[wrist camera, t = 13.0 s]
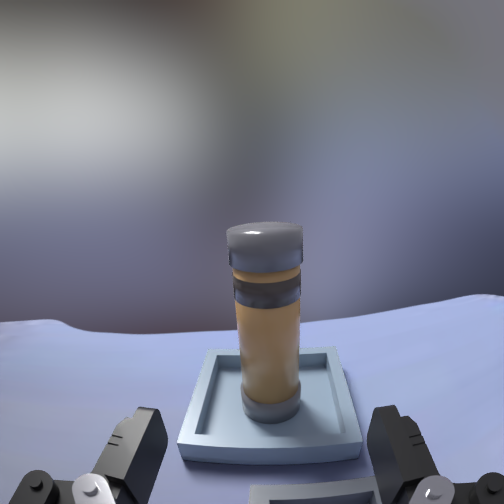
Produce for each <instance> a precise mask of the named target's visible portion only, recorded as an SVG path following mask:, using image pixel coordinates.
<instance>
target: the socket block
mask: <svg viewBox="0 0 504 504" xmlns="http://www.w3.org/2000/svg"><path fill="white" fill-rule="evenodd" d="M249 504H382V502H381V498H380V493H379V489H378V485H377V482H376V478H375V476H370V477H363V478H357V479H350V480H342V481H333V482H322V483H309V484H290V485H250V494H249Z"/></svg>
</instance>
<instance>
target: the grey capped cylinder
mask: <svg viewBox="0 0 504 504" xmlns="http://www.w3.org/2000/svg"><path fill="white" fill-rule="evenodd" d="M227 243H228V256H229V265H230V266H231V267H232V268H233V273H232V276H233V288H234V298H235V303H236V315H237V327H238V338H239V349H240V360H241V371H242V383H241V388H240V389H241V398H242V407H243V411H244V413H245V414H246V415H247V416H248V417H249V418H250V419H252V420H254V421H256V422H259V423H263V424H277V423H282V422H285V421H287V420H289V419H291V418H292V417H294V416H295V415H296V414H297V412H298V411H299V409H300V400H301V382H300V380H299V348H300V296H301V270H300V264H301V263H302V262H303V228H302V226H300V225H297V224H293V223H286V222H258V223H249V224H243V225H238V226H234V227H232V228H229V229H228V230H227Z"/></svg>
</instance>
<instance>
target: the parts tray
mask: <svg viewBox="0 0 504 504" xmlns="http://www.w3.org/2000/svg"><path fill="white" fill-rule="evenodd" d="M299 380H300V382H301V400H300V409H299V411H298V412H297V414H296V415H295V416H294V417H292V418H291V419H289V420H287V421H285V422H282V423H277V424H263V423H259V422H256V421H254V420H252V419H250V418H249V417H248V416H247V415H246V414H245V413H244V411H243V407H242V398H241V389H240V388H241V383H242V371H241V360H240V349H208V351H207V354H206V357H205V360H204V363H203V366H202V369H201V372H200V375H199V378H198V381H197V384H196V387H195V390H194V393H193V396H192V399H191V401H190V404H189V407H188V410H187V413H186V416H185V419H184V422H183V425H182V429H181V432H180V435H179V438H178V441H177V445H178V448H179V451H180V454H181V457H182V460H190V461H199V462H210V463H224V464H247V465H285V464H308V463H321V462H332V461H342V460H350V459H358V457H359V453H360V450H361V447H362V444H363V439H362V435H361V431H360V428H359V424H358V421H357V417H356V413H355V410H354V406H353V403H352V399H351V396H350V392H349V389H348V386H347V382H346V379H345V376H344V372H343V369H342V366H341V362H340V359H339V356H338V353H337V349H336V346H333V347H316V348H299Z"/></svg>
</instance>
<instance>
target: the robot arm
mask: <svg viewBox="0 0 504 504" xmlns="http://www.w3.org/2000/svg"><path fill="white" fill-rule="evenodd" d="M167 444H168V436H167V432H166V429H165V426H164V423H163V420H162V417H161V414H160V411H159V410H158V409H153V408H146V407H138V408H137V410H136V412H135V414H134V415H133V417H132V418H128V417H126V418H125V419H124V420H122V421H121V422H120V423H119V424H118V425H117V426H116V428H115V430H114V431H113V433H112V437H110V439H109V441H108V444H106V446H105V448H104V450H103V452H102V454H101V456H100V457H99V459H98V461H97V463H96V465H95V467H94V469H93V470H92V472H91V473H90V474H84V475H82V476H80V477H78V478H77V479H76V480H75V481H61V480H53V479H52V478H51V476H50V475H49V474H48V473H46V472H45V471H42V470H34V471H31V472H29V473H27V474H26V475H25V476H24V477H23V479H22V481H21V483H20V484H19V486H18V488H17V490H16V491H15V493H14V495H13V497H12V498H11V500H10V502H9V504H147V503H148V500H149V497H150V495H151V492H152V489H153V486H154V483H155V480H156V477H157V475H158V472H159V469H160V466H161V463H162V460H163V457H164V455H165V452H166V449H167ZM367 447H368V451H369V455H370V459H371V462H372V466H373V470H374V474H375V478H376V482H377V485H378V489H379V493H380V498H381V502H382V504H504V476H503V475H502V474H499V473H496V472H491V473H487V474H485V475H483V476H482V477H481V478H480V479H479V480H478V481H477V482H474V483H452V482H451V481H450V480H449V479H448V478H446V477H443V476H440V474H439V473H438V470H437V468H436V466H435V463H434V461H433V459H432V456H431V454H430V452H429V450H428V447H427V445H426V444H425V441H424V438H423V436H421V432H420V430H419V428H418V425H417V423H415V422H414V421H413V420H412V419H411V418H410V417H409V416H403V417H400V414H399V412H398V410H397V408H396V406H395V405H390V406H384V407H377V408H375V409H374V411H373V415H372V419H371V422H370V426H369V430H368V433H367Z"/></svg>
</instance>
